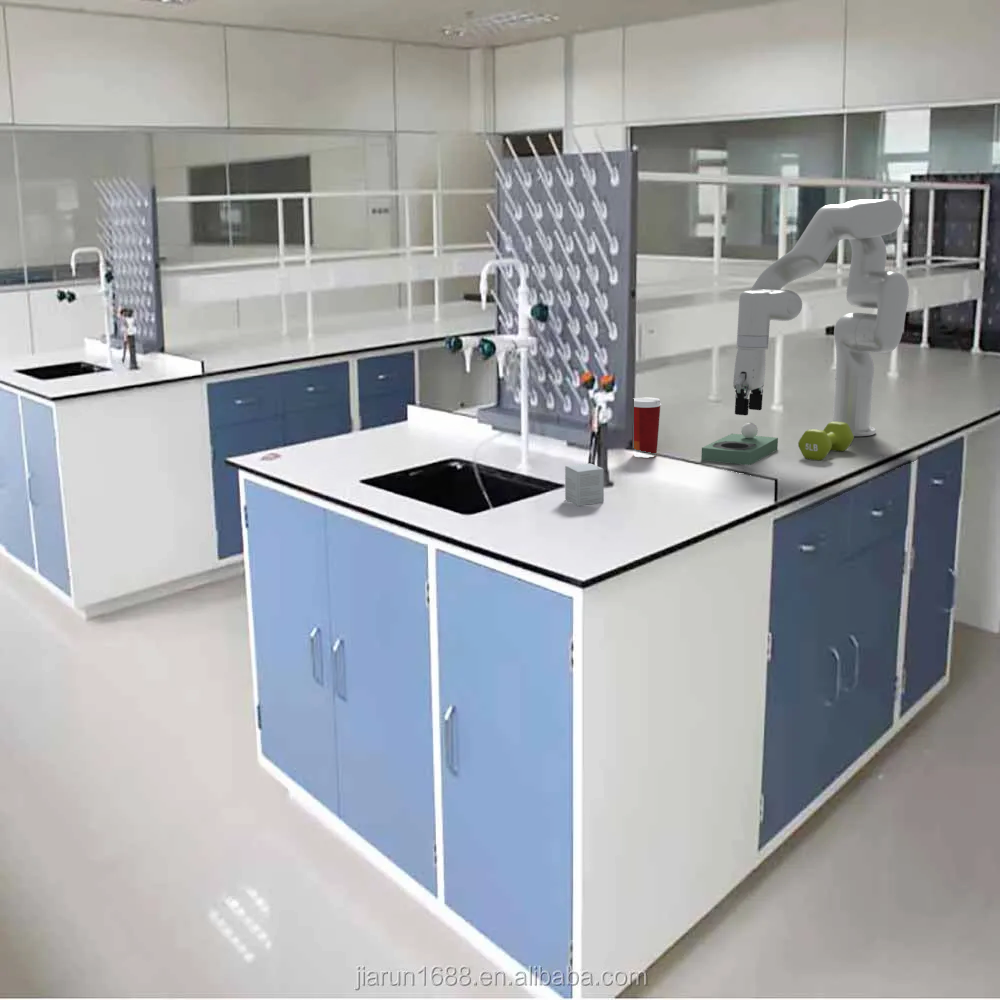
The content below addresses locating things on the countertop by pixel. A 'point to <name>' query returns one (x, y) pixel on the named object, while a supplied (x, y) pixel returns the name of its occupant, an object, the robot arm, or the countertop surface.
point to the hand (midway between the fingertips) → (748, 412)
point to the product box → (584, 484)
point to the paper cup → (646, 423)
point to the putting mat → (739, 449)
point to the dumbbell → (825, 440)
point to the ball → (749, 430)
